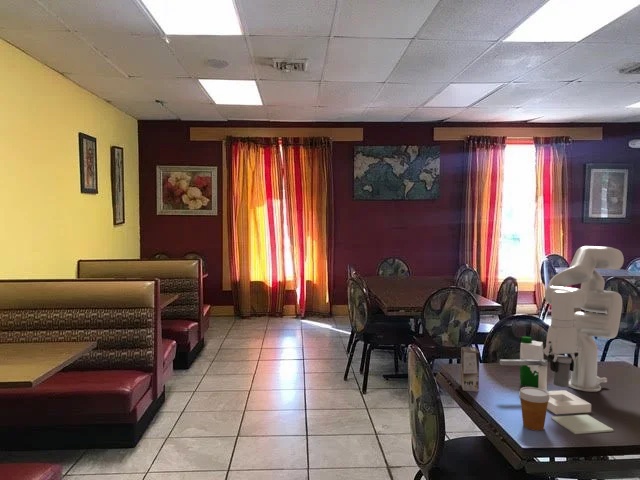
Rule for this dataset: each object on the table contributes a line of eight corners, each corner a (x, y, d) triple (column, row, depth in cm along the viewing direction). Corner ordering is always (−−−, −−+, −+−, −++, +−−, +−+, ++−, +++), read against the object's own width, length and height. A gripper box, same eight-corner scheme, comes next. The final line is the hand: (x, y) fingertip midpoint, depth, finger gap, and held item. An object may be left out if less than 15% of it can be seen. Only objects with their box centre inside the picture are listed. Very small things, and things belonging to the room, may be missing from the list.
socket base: (554, 391, 187) (554, 362, 187) (591, 412, 167) (591, 379, 166) (522, 393, 185) (523, 364, 185) (555, 414, 165) (556, 381, 164)
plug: (562, 382, 176) (564, 355, 175) (573, 387, 170) (575, 359, 170) (548, 382, 175) (550, 354, 175) (559, 387, 169) (560, 359, 169)
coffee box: (479, 392, 187) (479, 352, 186) (462, 390, 188) (463, 351, 187) (476, 384, 196) (476, 346, 195) (460, 383, 197) (461, 346, 196)
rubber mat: (587, 416, 163) (587, 414, 163) (613, 431, 151) (613, 429, 151) (551, 418, 161) (551, 416, 161) (574, 434, 149) (575, 432, 149)
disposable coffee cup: (512, 421, 159) (513, 386, 159) (539, 420, 160) (539, 386, 160) (527, 433, 150) (528, 397, 149) (555, 432, 150) (556, 396, 150)
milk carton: (521, 379, 202) (522, 334, 201) (544, 383, 197) (545, 337, 196) (518, 385, 195) (518, 338, 194) (541, 389, 190) (542, 341, 189)
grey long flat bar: (545, 363, 185) (545, 359, 185) (548, 365, 182) (549, 361, 181) (499, 363, 185) (499, 359, 185) (502, 365, 181) (502, 361, 181)
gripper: (576, 319, 177) (575, 365, 178) (535, 322, 174) (534, 368, 175) (590, 324, 169) (589, 372, 170) (547, 326, 167) (547, 375, 168)
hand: (561, 370), depth 173 cm, fingers closed on plug, 5 cm apart
